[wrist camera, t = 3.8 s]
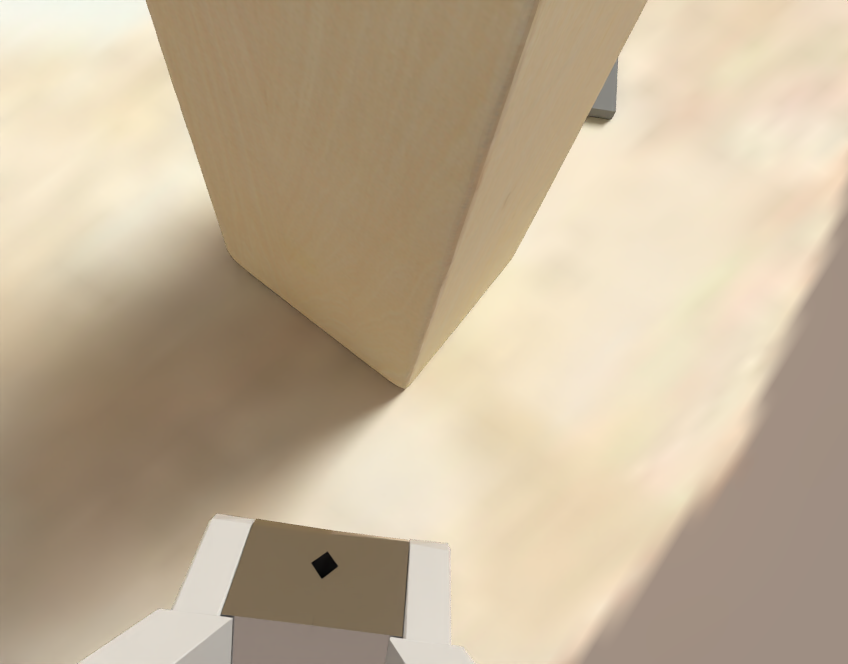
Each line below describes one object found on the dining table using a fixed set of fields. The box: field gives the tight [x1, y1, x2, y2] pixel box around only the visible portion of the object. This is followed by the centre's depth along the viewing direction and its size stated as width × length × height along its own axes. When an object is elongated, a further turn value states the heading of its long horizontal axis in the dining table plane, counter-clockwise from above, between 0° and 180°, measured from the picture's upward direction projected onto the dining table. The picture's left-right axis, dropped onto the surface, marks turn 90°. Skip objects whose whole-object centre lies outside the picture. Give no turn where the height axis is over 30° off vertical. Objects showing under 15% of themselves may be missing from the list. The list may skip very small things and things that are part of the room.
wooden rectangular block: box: [146, 0, 647, 388], centre depth 17 cm, size 8×7×21 cm
